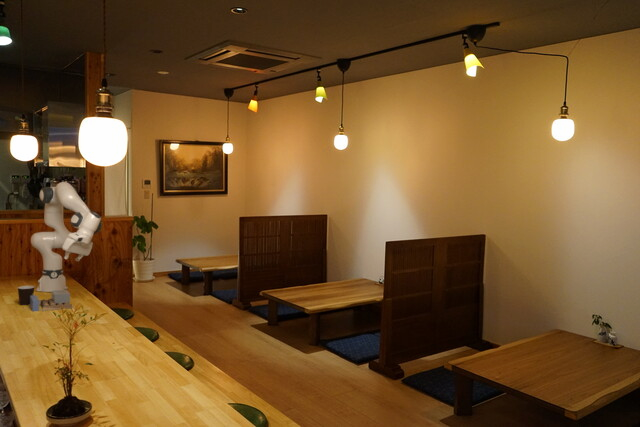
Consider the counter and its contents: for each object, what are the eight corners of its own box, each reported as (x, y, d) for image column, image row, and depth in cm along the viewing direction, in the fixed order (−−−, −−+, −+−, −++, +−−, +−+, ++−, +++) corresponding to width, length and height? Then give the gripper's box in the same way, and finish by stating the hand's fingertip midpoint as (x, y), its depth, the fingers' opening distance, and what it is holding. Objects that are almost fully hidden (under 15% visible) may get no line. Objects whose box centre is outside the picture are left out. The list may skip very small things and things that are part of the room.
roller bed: (38, 304, 297) (38, 299, 296) (66, 301, 305) (66, 296, 305) (42, 311, 282) (42, 305, 282) (72, 308, 291) (72, 303, 291)
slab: (51, 299, 298) (51, 290, 297) (66, 297, 302) (66, 289, 302) (54, 303, 288) (54, 295, 288) (69, 302, 293) (70, 293, 292)
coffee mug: (28, 306, 292) (28, 289, 291) (14, 305, 292) (14, 288, 291) (40, 301, 303) (40, 285, 303) (26, 300, 303) (26, 284, 303)
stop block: (29, 305, 292) (30, 295, 292) (35, 305, 294) (35, 295, 294) (32, 311, 281) (32, 300, 281) (38, 310, 283) (39, 300, 282)
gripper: (89, 239, 302) (78, 260, 300) (66, 233, 282) (55, 255, 280) (97, 243, 300) (86, 264, 298) (75, 237, 280) (63, 259, 279)
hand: (71, 260), depth 289 cm, fingers open, 8 cm apart
